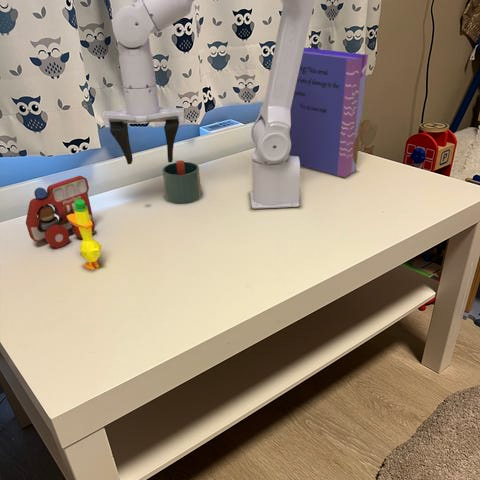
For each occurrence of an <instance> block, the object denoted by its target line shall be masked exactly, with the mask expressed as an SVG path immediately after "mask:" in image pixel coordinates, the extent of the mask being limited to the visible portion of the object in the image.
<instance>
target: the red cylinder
mask: <svg viewBox="0 0 480 480" xmlns="http://www.w3.org/2000/svg"><path fill="white" fill-rule="evenodd" d="M184 162H185V161H184V160H176V162H175V163H176V165H177V174H178V175H183V174H185V166H184Z"/></svg>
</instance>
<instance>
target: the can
mask: <svg viewBox="0 0 480 480" xmlns="http://www.w3.org/2000/svg"><path fill="white" fill-rule="evenodd" d="M184 166H185V174H183V175H178V174H177V165H176V162H171V163H168V164H167V165H165V166H163V168H162V180H163V186H164V194H165V195H164V196H165V199H166V200H167V201H168V202H169V203H173V204H181V205H182V204H190V203H194V202H196V201H198V200H199V199H200V198H201V197H202V186H201V174H200V166H199V165H198V164H197V163H195V162H190V161H184Z"/></svg>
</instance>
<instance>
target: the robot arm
mask: <svg viewBox="0 0 480 480" xmlns="http://www.w3.org/2000/svg"><path fill="white" fill-rule="evenodd" d="M131 1H132V3H126V4H123V5H121V6H120V7H119V8H118V10H116V13H115V14H114V16H113V19H112V23H111V24H112V32H113V35H114V37H115V40H117V52H118V55H119V56H118V63H119V67H120V68H119V69H120V75H121V81H122V87H123V88H122V89H123V94H124V100H125V107H126V108H122V109H115V110H106V111H105V110H104V111H103V112H102V114H101V116H102V122H103V126H109V127H110V128H109V131H110V135H111V136H112V137H113V138H114V139H115V141H116V142H117V144H118V145H119V148H120V149H121V151H122V153H123V155H124V157H125V160H126V164H127V165H132V163H133V161H134V160H133V152H132V148H131V147H132V146H131V144H130V136H129V127H128V124H139V123H140V124H141V123H142V124H143V123H164V126H163V130H164V135H165V141H166V150H167V151H166V152H167V163H173V160H174V145H175V140H176V136H177V133H178V129H179V126H180V123H185V121H186V114H185V107H164V106H160V105H159V104H160V103H159V96H158V86H157V79H156V71H155V63H154V56H153V54H152V50H151V45H150V34H159V33H160V32H162V31H163V30H166V29H168V27H170V26H172V25H174V24H175V23H177V22H178V21H180V20H181V19H183V18H185V17H187V16H188V15H190V14H191V10H192V6H193V2H194V1H195V0H131ZM315 1H316V0H280V2H281V3H282V9H281V14H280V20H279V25H278V29H277V35H276V40H275V44H274V50H273V55H272V61H271V65H270V71H269V76H268V80H267V86H266V91H265V97H264V100H263V103H262V105H261V107H260V108H259V113H258V117H257V119H256V120H255V121H254V123H253V124H252V126H251V130H250V134H251V135H250V136H251V139H252V141H253V143H254V144H255V146H256V147H255V148H254V151H253V153H252V154H251V171H252V172H251V173H252V190H250V191H249V195H250V196H249V197H250V204H251V209H254V210H257V209H259V210H260V209H278V208H280V209H281V208H282V209H283V208H299V207H300V194H301V167H300V161H299V157H298V156H290V155H289V152H290V150H291V140H290V135H289V133H290V127H291V115H290V109H291V105H292V100H293V96H294V91H295V87H296V82H297V78H298V73H299V69H300V64H301V60H302V55H303V51H304V47H305V46H306V43H307V37H308V33H309V28H310V24H311V19H312V14H313V10H314V6H315Z"/></svg>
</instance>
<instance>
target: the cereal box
mask: <svg viewBox="0 0 480 480" xmlns="http://www.w3.org/2000/svg"><path fill="white" fill-rule="evenodd" d="M368 60H369V54H364V53H356V52H348V51H347V52H346V51H338V50H331V49H329V50H328V49H321V48H312V47H305V46H304V51H303V55H302V60H301V64H300V69H299V73H298V78H297V82H296V87H295V91H294V96H293V100H292V105H291V109H290V115H291V127H290V133H289V135H290V140H291V150H290V152H289V155H290V156H298V157H299V161H300V168H305V169H308V170H312V171H316V172H320V173H324V174H327V175H330V176H335V177H338V178H342V179H346V178H348V177H350V176H351V175H353V174H354V173H356V172H357V165H358V156H359V155H358V154H359V147H360V146H359V145H360V137H361V125H362V117H363V108H364V100H365V99H364V98H365V88H366V79H367V78H366V77H367V70H368Z"/></svg>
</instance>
